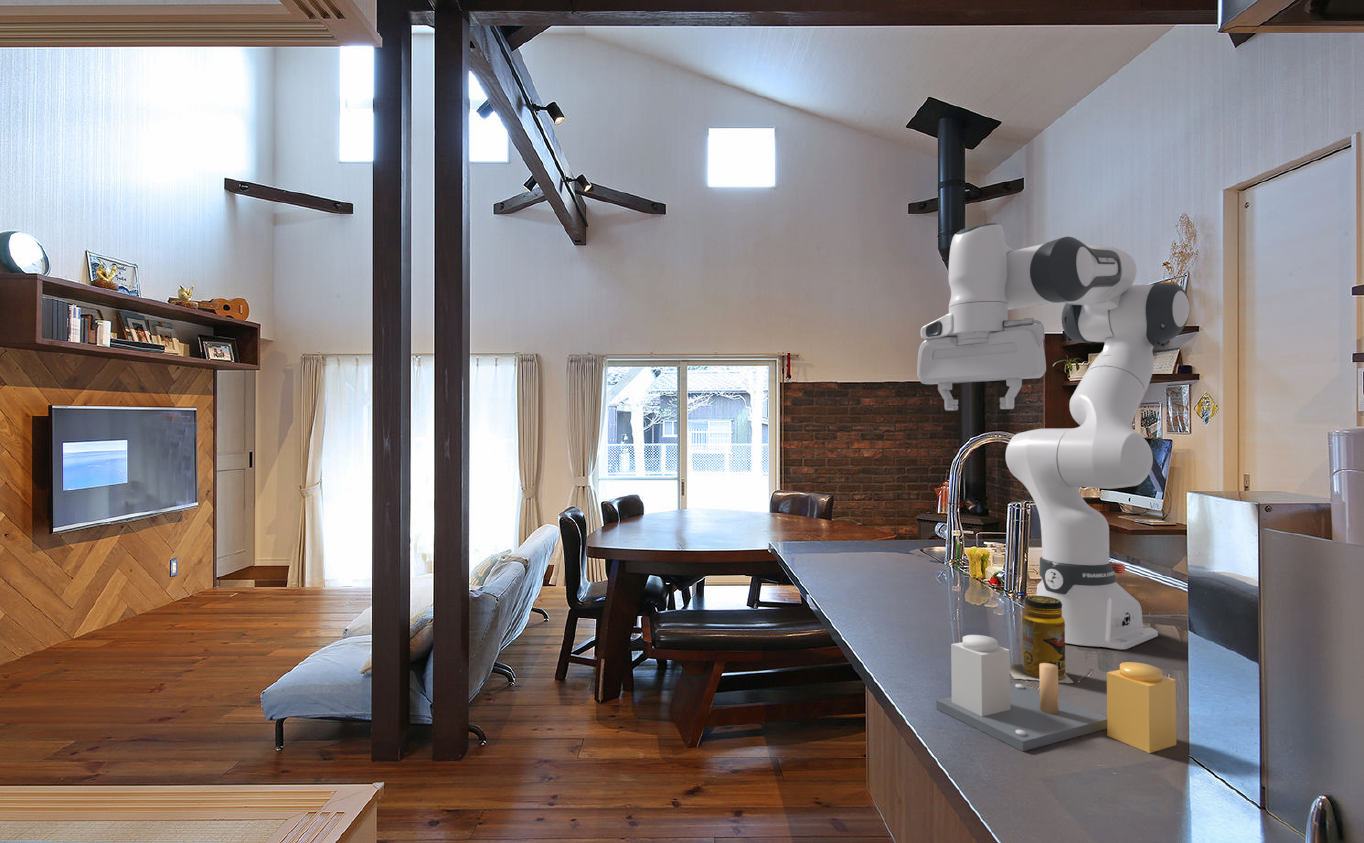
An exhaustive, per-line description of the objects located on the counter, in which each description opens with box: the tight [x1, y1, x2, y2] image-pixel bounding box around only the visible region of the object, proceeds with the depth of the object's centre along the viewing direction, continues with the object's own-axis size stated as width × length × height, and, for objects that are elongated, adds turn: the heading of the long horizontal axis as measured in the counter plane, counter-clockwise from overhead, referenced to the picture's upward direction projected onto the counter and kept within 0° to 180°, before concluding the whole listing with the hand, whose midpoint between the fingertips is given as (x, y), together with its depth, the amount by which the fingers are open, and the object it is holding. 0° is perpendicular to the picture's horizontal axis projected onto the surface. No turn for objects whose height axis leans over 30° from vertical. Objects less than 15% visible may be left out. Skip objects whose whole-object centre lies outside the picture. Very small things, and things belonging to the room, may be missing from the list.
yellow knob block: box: [1106, 661, 1177, 754], centre depth 86 cm, size 5×5×9 cm
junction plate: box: [935, 634, 1107, 752], centre depth 93 cm, size 16×14×10 cm
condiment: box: [1010, 595, 1075, 684], centre depth 110 cm, size 7×8×12 cm
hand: (978, 409), depth 112 cm, fingers open, 8 cm apart
